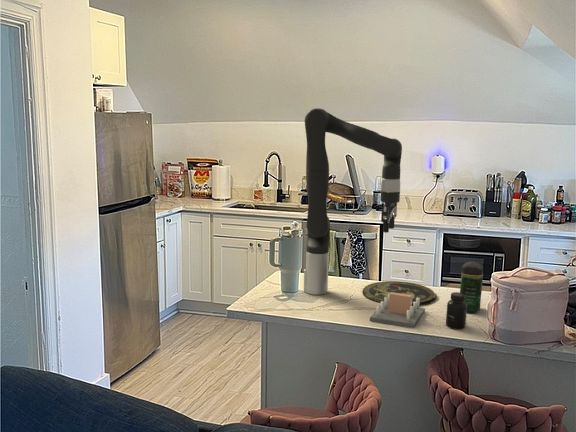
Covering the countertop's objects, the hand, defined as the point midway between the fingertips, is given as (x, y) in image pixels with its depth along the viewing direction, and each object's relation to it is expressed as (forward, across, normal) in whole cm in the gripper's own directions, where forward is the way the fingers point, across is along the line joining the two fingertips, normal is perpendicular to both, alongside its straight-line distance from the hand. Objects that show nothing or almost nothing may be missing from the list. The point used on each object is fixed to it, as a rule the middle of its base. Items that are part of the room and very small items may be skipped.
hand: (388, 230), depth 238 cm
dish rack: (+28, +19, +10) cm, 35 cm away
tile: (+27, +19, +11) cm, 34 cm away
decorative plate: (+29, -7, +4) cm, 30 cm away
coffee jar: (+28, -1, +33) cm, 43 cm away
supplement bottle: (+28, +20, +31) cm, 46 cm away
